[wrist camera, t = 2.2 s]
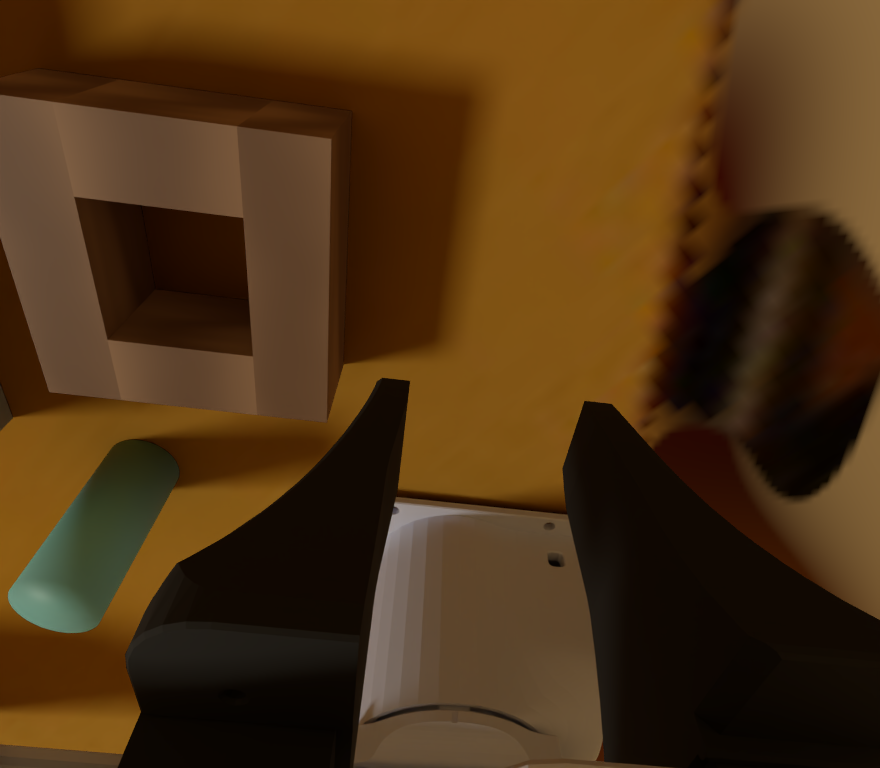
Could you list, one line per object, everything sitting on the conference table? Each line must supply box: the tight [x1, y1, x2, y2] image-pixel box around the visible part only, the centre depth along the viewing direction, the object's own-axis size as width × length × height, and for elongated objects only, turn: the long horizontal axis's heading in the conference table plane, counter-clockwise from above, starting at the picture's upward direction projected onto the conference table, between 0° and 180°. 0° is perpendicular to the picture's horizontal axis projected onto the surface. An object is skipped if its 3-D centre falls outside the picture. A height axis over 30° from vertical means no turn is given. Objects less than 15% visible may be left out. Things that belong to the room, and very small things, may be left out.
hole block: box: [0, 68, 352, 423], centre depth 18 cm, size 9×9×4 cm
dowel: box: [8, 440, 179, 633], centre depth 23 cm, size 3×3×7 cm
